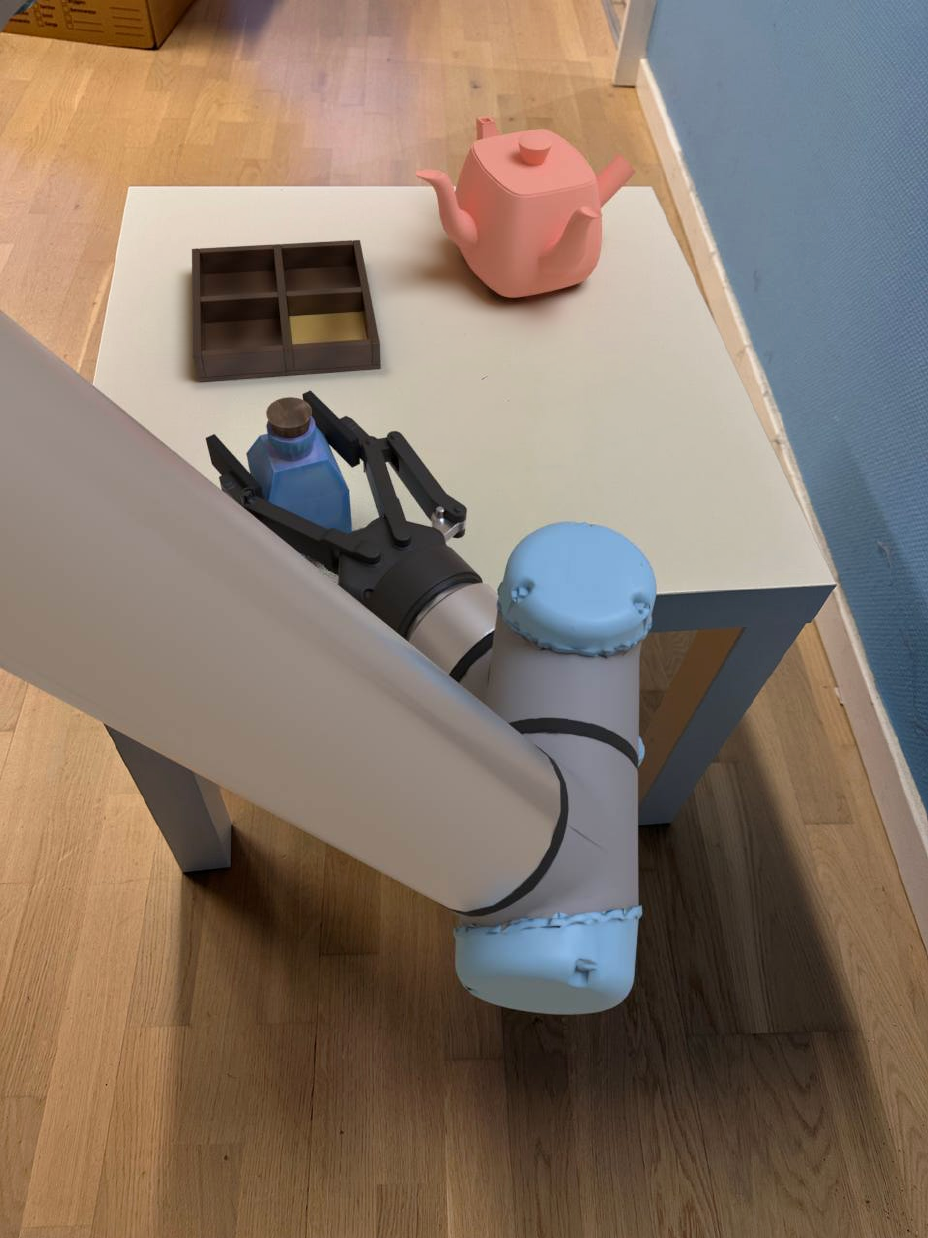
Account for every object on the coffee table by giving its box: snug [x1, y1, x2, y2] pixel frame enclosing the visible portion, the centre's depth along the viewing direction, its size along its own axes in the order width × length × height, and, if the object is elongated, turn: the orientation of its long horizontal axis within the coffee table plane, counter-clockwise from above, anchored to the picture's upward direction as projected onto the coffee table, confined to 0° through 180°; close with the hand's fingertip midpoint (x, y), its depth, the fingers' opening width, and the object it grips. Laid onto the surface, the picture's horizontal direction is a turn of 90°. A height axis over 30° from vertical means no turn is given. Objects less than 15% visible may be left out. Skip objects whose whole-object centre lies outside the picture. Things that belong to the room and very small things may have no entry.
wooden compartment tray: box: [191, 239, 382, 383], centre depth 90 cm, size 17×17×3 cm
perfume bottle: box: [245, 396, 353, 558], centre depth 67 cm, size 6×6×12 cm
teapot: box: [414, 115, 637, 299], centre depth 93 cm, size 18×18×14 cm
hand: (261, 427), depth 69 cm, fingers closed on perfume bottle, 8 cm apart
